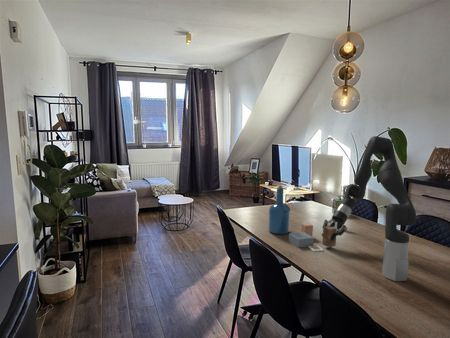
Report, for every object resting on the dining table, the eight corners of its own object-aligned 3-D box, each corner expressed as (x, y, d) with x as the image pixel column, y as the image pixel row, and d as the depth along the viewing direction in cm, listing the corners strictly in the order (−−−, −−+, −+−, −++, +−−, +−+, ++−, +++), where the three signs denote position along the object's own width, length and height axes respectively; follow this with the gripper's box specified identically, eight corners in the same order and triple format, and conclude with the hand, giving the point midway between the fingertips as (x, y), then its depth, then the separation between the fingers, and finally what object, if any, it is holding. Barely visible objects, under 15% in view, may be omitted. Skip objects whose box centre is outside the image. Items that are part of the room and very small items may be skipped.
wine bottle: (264, 231, 194) (265, 185, 190) (275, 226, 203) (277, 183, 199) (282, 236, 184) (284, 188, 180) (293, 231, 194) (295, 185, 190)
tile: (323, 250, 164) (323, 249, 164) (313, 251, 163) (313, 250, 163) (318, 246, 169) (318, 245, 169) (308, 247, 169) (308, 245, 168)
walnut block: (335, 245, 167) (336, 228, 166) (329, 247, 164) (330, 229, 163) (328, 242, 171) (329, 225, 170) (322, 244, 169) (323, 227, 167)
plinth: (313, 246, 171) (313, 237, 170) (298, 248, 168) (298, 239, 167) (303, 240, 180) (303, 231, 180) (288, 241, 177) (288, 233, 177)
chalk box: (347, 216, 232) (349, 197, 230) (335, 215, 232) (336, 196, 230) (343, 212, 241) (344, 194, 239) (331, 212, 241) (332, 194, 239)
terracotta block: (312, 238, 183) (312, 225, 182) (304, 238, 182) (305, 225, 181) (308, 235, 188) (309, 222, 187) (301, 235, 187) (301, 223, 186)
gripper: (328, 207, 176) (313, 230, 170) (350, 213, 164) (335, 238, 159) (333, 215, 179) (319, 238, 174) (355, 221, 167) (341, 246, 162)
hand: (327, 238), depth 166 cm, fingers closed on walnut block, 5 cm apart
